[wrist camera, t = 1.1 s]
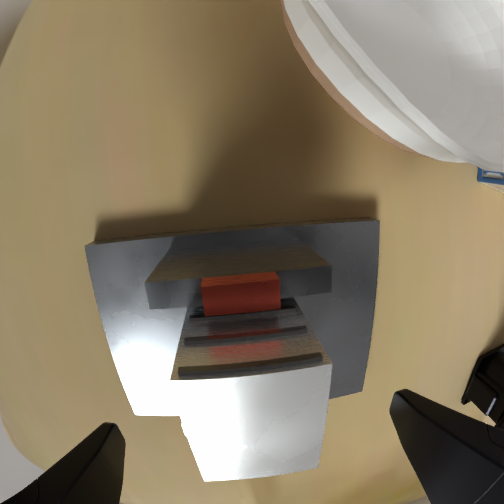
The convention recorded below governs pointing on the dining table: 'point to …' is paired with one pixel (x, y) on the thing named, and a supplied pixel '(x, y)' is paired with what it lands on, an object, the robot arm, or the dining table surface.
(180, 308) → the grey stepped stand
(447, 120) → the bowl
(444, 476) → the robot arm
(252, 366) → the column
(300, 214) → the dining table surface
